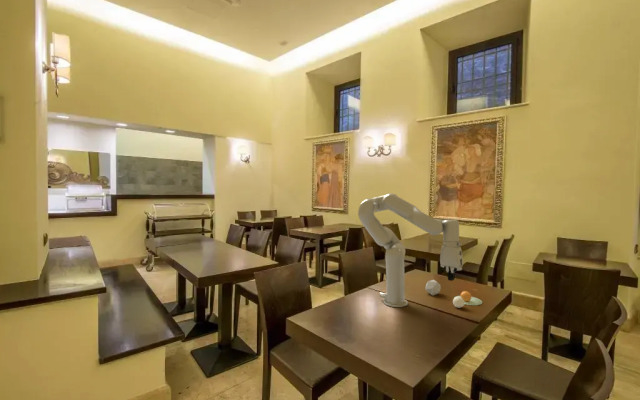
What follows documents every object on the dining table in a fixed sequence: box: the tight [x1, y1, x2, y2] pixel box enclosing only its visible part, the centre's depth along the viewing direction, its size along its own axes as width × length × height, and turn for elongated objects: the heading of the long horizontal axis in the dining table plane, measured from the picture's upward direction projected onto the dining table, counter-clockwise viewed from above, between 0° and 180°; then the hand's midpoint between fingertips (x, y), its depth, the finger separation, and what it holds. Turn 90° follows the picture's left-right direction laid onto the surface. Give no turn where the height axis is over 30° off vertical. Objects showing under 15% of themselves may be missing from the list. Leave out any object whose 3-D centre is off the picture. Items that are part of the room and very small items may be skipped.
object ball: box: [459, 290, 473, 302], centre depth 164 cm, size 6×6×6 cm
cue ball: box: [452, 296, 466, 309], centre depth 156 cm, size 6×6×6 cm
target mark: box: [453, 295, 483, 306], centre depth 165 cm, size 14×14×1 cm
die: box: [424, 279, 442, 296], centre depth 177 cm, size 8×9×10 cm
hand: (451, 280), depth 153 cm, fingers closed
